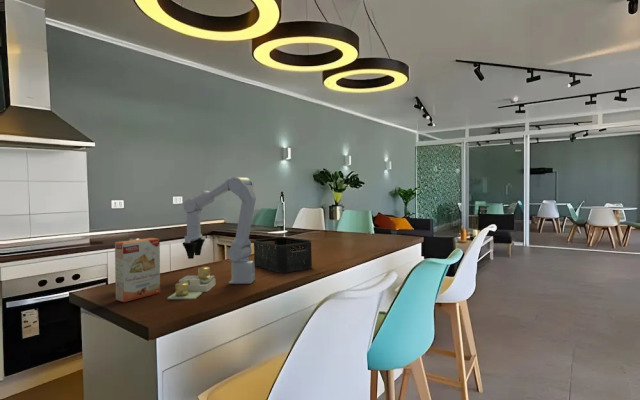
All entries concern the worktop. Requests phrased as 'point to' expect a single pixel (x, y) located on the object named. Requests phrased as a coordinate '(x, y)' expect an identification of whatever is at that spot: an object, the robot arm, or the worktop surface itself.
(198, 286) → the scale
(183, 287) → the cylinder
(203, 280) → the scale pan
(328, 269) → the worktop surface
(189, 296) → the rubber mat
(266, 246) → the storage bin
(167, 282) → the worktop surface
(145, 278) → the cracker box
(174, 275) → the worktop surface
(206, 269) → the brass weight
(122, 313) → the worktop surface
